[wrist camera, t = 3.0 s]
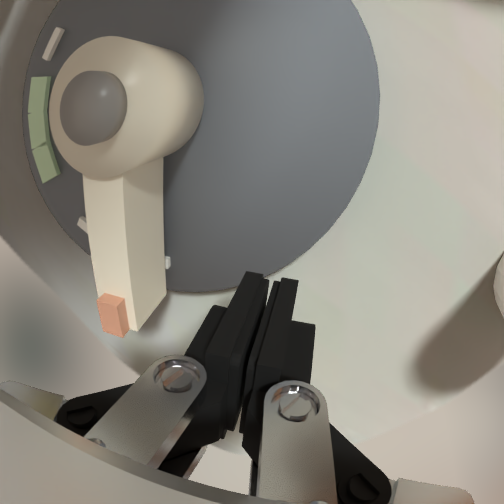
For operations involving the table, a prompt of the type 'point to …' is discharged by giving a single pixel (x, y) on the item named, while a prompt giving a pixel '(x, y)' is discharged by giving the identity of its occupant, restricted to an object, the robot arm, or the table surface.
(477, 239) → the table surface
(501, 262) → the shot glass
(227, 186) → the dial
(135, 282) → the lever
